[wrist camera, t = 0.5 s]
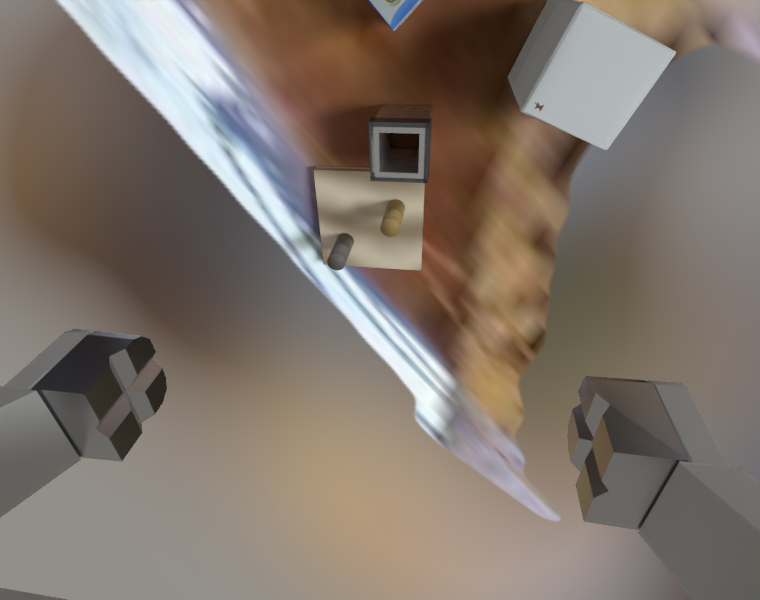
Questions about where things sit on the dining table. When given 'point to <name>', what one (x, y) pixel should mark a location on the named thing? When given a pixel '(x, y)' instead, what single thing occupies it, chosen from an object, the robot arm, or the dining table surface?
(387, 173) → the sleeve
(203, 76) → the dining table surface
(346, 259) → the pinboard
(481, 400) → the dining table surface
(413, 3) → the medicine box
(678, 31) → the dining table surface
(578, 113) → the supplement box
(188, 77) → the dining table surface
